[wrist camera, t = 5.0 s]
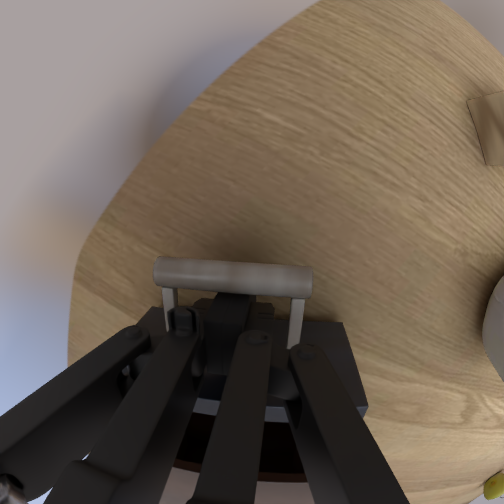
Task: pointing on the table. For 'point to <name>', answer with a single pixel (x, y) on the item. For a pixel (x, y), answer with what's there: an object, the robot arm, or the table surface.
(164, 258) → the drawer
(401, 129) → the table surface
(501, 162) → the block
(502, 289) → the teacup
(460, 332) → the table surface
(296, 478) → the cabinet
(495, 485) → the apple
